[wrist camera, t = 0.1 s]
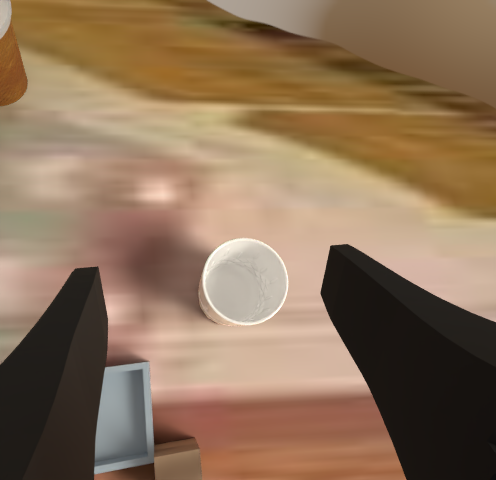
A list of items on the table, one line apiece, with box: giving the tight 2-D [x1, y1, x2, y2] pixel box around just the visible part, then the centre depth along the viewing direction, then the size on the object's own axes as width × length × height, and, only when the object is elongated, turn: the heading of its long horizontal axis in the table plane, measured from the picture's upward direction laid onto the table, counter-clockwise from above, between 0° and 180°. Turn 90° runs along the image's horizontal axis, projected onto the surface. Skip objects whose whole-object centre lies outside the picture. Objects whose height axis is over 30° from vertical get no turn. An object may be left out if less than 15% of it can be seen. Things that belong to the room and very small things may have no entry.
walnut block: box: [154, 438, 202, 480], centre depth 37 cm, size 4×4×5 cm
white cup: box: [198, 238, 288, 326], centre depth 40 cm, size 8×8×10 cm
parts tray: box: [94, 361, 154, 474], centre depth 37 cm, size 9×14×2 cm, turn 98°
